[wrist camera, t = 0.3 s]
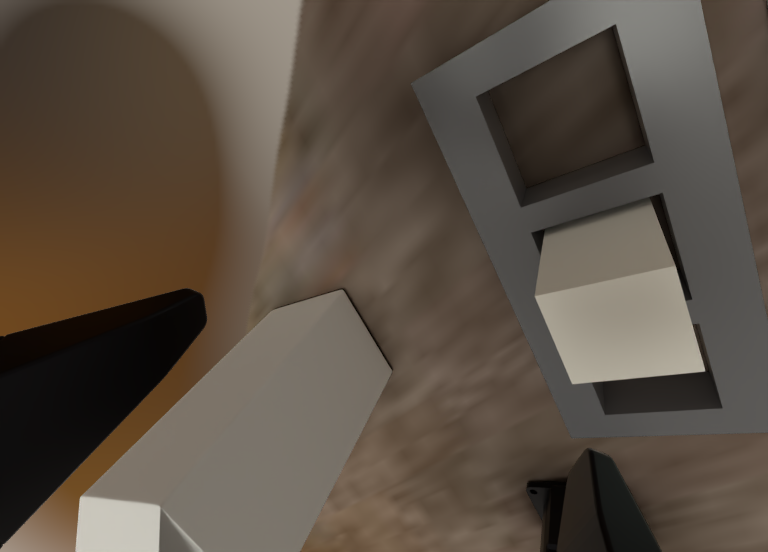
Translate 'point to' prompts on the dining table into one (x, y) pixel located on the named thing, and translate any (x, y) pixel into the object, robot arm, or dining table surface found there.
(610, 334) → the plug
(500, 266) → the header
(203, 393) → the milk carton
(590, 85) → the dining table surface
